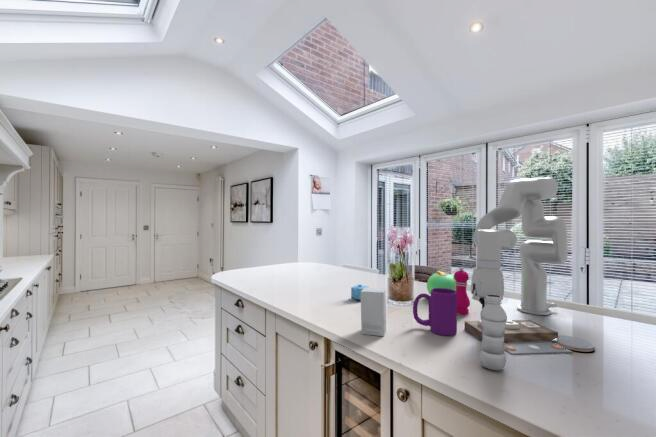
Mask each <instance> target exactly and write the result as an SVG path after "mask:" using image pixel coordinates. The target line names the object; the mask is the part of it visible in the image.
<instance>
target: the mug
mask: <svg viewBox="0 0 656 437" xmlns="http://www.w3.org/2000/svg"><path fill="white" fill-rule="evenodd" d="M423 298H424V299H426V301H428V319H422V318H420V317H419V314H418V306H419V302H420V299H423ZM412 314H413V318H414V320H415V322H416V323H417V324H419V325H421V326H425V327H430V331H431V332H432V333H434V334H435V335H439V336H444V337H449V336H450V337H451V336H454V335H456V334H457V332H458V329H457V327H458V325H457V323H458V314H457V292H456V291H455V290H452V289H446V288H434V289H432V290H431V295H430V294H428V293H420V294H418V295H417V296H416V297H415V299H414V300H413V306H412Z"/></svg>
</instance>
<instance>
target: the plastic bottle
mask: <svg viewBox="0 0 656 437" xmlns="http://www.w3.org/2000/svg"><path fill="white" fill-rule="evenodd" d="M486 302H487V304H486V305H485V306H484V308H483V309H482V308H481V310H480V321H481V323H482V341H481V346H480V347H481V348H480V351H479V362H480V364H481V366H482V367H484V368H486V369H487V370H490V371H491V370H492V371H503V369H504V370H505V367H506V366H507V364H506V363H507V355H506V353H505V352H506V351H505V348H504V344H505V343H504V334H505V326H506V321H507V320H508V315H507V312H506V311H505V309H504V308H503V307H502V300H501V296H498V295H490V294H489V295H486Z"/></svg>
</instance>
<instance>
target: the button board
mask: <svg viewBox="0 0 656 437" xmlns="http://www.w3.org/2000/svg"><path fill="white" fill-rule="evenodd" d="M511 320H512V321H514V322H516V323H518V324H519V329H506V328H505V334H504V344H507V343H543V342H553V341H552V340H553V339H555V338H558V339H559V332H558V331H556V330H555V329H552V328H549V327H547V326H545V325H543V324H541V323H538V322H536V321H533V319H511ZM478 321H479V320H464V330H466V331H467V332H468V333H469V334H472V335H473V336H474V337H476V338H477V339H478V340H480V341H481V342H482V327H480V326H479V325H478ZM529 322H531V323H534V324H536V325H538V326H540V328H530V329H529V328H526V327H524V326H522V325H520V323H529Z"/></svg>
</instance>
